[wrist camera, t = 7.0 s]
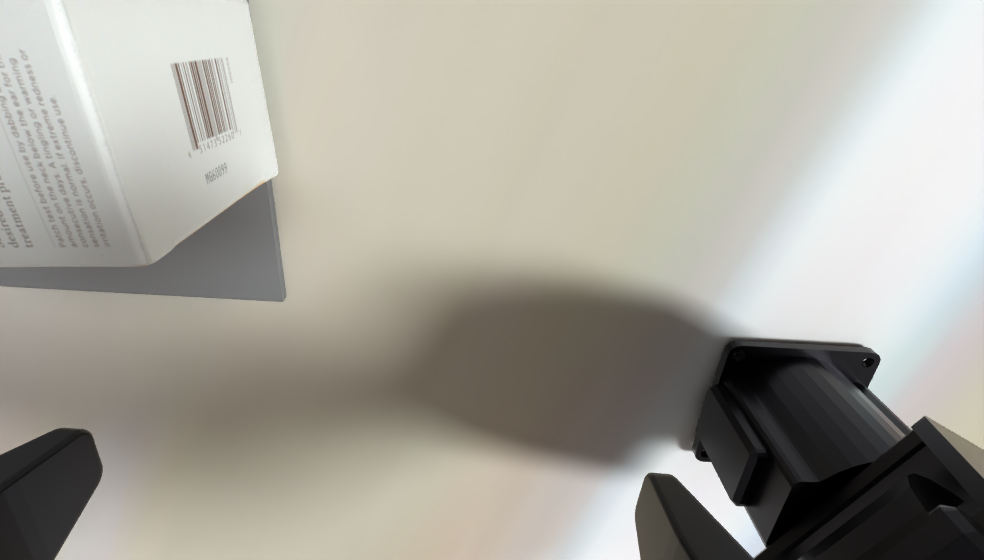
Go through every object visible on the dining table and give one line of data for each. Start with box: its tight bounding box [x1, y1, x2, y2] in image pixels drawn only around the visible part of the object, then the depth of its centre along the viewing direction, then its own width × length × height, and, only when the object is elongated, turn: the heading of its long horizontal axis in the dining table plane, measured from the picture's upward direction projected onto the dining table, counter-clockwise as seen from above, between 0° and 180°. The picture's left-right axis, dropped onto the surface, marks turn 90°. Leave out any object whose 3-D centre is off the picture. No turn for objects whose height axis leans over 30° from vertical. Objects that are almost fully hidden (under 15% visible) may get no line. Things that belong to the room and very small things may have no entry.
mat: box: [0, 0, 286, 302], centre depth 16 cm, size 11×18×1 cm, turn 176°
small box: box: [0, 0, 278, 267], centre depth 13 cm, size 8×6×10 cm
